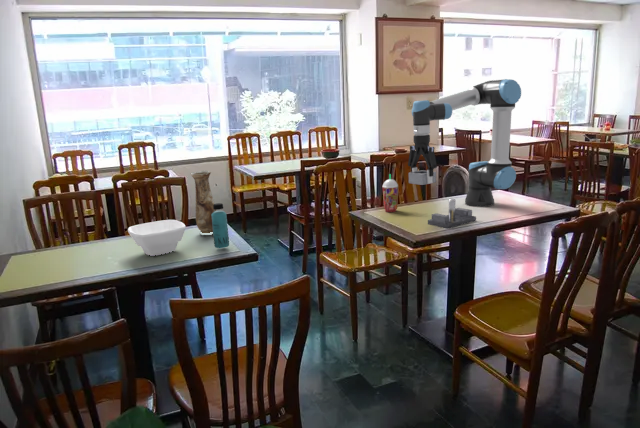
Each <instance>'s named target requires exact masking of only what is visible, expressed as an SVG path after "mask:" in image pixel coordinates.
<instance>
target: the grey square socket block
mask: <svg viewBox="0 0 640 428" xmlns="http://www.w3.org/2000/svg"><path fill="white" fill-rule="evenodd" d="M432 182H433V183H432V184H434V183H436V182H437V171H433V176H432ZM408 184H413V185H421V186H423V185H424V186H425V185H428V184H427V170H424V169H423V170H417V171H415V172H412V171H410V172H408Z"/></svg>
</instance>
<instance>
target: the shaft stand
mask: <svg viewBox="0 0 640 428" xmlns="http://www.w3.org/2000/svg"><path fill="white" fill-rule="evenodd" d="M476 221H477V216H474V215H473V210H472V209H468V208H462V207H456V199H454V198H449V199H448V214H442V213H438V212H435V213H431V219H428V220H427V225H430V226H435V227H438V228H439V227H440V228H442V227H443V228H444V229H447V230H448V229H451V227H452V228H455V227H458V226H463V225H467V224H469V223H473V222H476Z"/></svg>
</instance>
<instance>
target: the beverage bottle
mask: <svg viewBox="0 0 640 428" xmlns="http://www.w3.org/2000/svg"><path fill="white" fill-rule="evenodd" d="M213 209H214V210H216V211H215V212H213V213H212V215H211V216H212V226H213V235H212V236H213V245H214V248H216V249H225V248H228V247H229V246H230V238H229V228H228V217H227V213H226V211H224V210H222V209H224V204H223V203H221V202H218V203H214V205H213Z"/></svg>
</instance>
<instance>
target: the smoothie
mask: <svg viewBox="0 0 640 428" xmlns="http://www.w3.org/2000/svg"><path fill="white" fill-rule="evenodd" d="M388 176H389V178H388V179H386V180H385V181H384V182H383V184H382V195H383V196H382V198H383V207H384V210H385V213H395V212H397V209H398V201H399V200H398V196H399V184H398V183H397V181H396V180H395V179H392V177H391V176H392V175H391V173H389V174H388Z"/></svg>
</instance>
